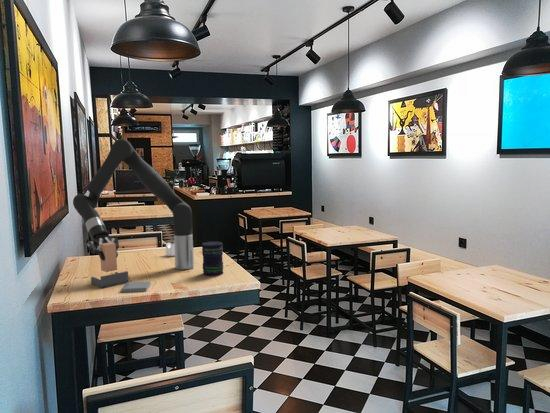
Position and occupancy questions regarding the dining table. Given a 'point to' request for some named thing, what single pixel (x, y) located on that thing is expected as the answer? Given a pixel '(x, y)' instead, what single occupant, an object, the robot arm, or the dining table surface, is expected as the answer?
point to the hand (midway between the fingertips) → (110, 258)
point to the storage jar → (212, 258)
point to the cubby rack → (110, 280)
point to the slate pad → (136, 286)
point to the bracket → (170, 249)
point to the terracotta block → (109, 257)
